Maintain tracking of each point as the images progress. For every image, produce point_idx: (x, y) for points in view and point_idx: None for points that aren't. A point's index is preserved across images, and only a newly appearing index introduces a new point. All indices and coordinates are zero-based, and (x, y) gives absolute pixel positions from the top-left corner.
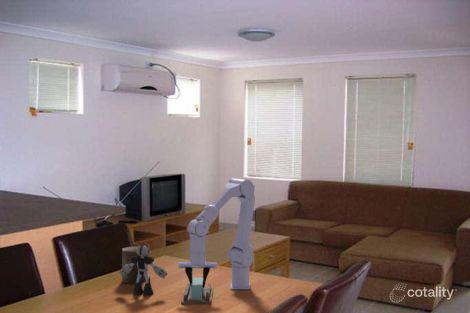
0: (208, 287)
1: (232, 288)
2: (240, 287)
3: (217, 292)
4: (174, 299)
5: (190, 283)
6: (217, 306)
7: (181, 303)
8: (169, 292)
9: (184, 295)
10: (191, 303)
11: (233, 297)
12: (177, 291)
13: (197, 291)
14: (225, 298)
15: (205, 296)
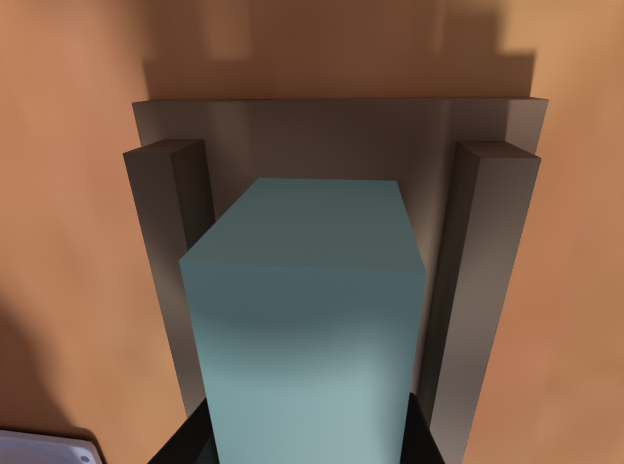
0: None
1: (76, 445)
2: (20, 448)
3: (175, 403)
4: (588, 270)
5: (427, 446)
6: (61, 22)
7: (528, 98)
8: (602, 445)
9: (520, 159)
10: (388, 99)
11: (14, 293)
12: (518, 456)
13: (295, 217)
14: (68, 273)
15: None
